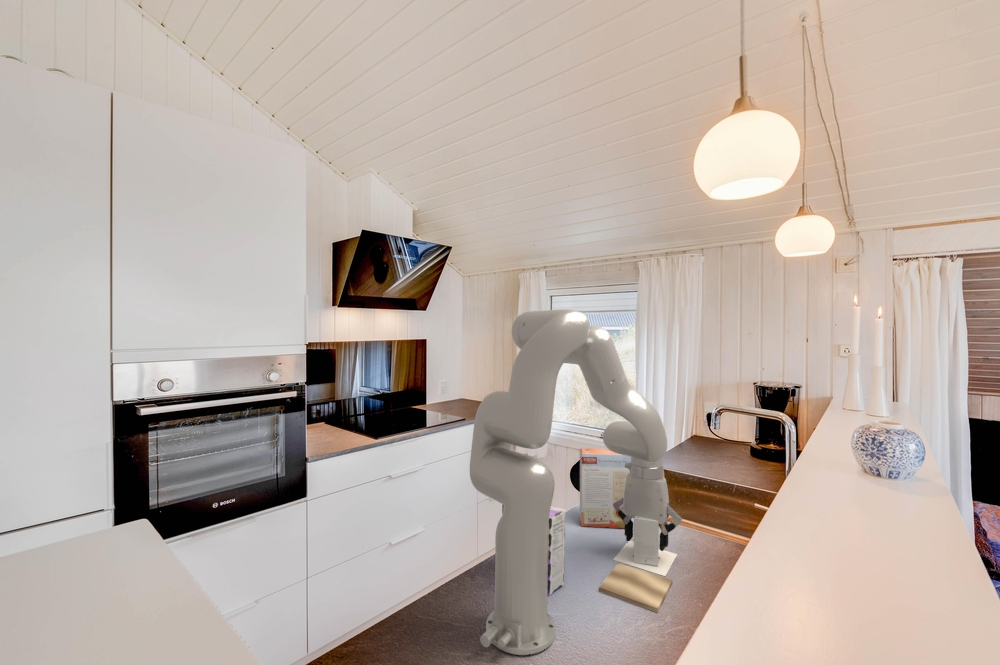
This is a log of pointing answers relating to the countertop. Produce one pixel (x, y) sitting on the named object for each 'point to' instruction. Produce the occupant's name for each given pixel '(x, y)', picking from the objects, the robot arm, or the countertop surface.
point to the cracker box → (601, 487)
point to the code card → (663, 564)
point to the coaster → (636, 587)
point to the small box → (646, 541)
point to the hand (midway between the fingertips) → (645, 543)
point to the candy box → (555, 549)
